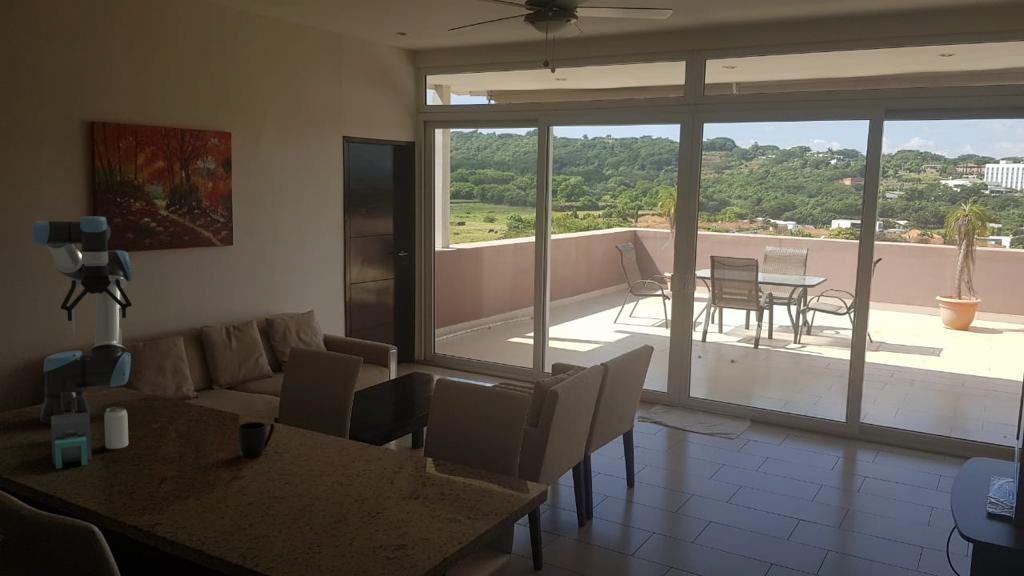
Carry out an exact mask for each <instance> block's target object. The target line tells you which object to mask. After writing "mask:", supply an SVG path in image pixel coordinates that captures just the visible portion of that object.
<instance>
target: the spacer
mask: <svg viewBox="0 0 1024 576" xmlns="http://www.w3.org/2000/svg"><path fill="white" fill-rule="evenodd" d="M73 446H81V461H80V462H81V466H88V460H87V440H86V436H83V437H74V438H66V439H57V440H55V459H56V464H55V469H56V470H57V469H59V470H60V469H62V468H63V463H62V454H61V448H65V447H73Z"/></svg>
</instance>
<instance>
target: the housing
mask: <svg viewBox="0 0 1024 576" xmlns="http://www.w3.org/2000/svg"><path fill="white" fill-rule="evenodd" d="M90 417H91V415H90V416H89V412H84V413H74V414H65V415H55V416H51V424H50V428H51V431H50V432H51V433H50V434H51V448H52V449H51V451H52V454H51V455H52V465H56V459H55V440H57V439H66V437H65V435H64V434H63V432H65V431H70V430H77V431H78V432H79V433H77V437H83V436H86V440H87V461H90V460H93V459H92V434H91V433H92V430H91V418H90ZM61 454H62V464H67V463H73V462H74V463H75V462H81V446H73V447H65V448H61Z"/></svg>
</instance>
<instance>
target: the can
mask: <svg viewBox="0 0 1024 576" xmlns="http://www.w3.org/2000/svg"><path fill="white" fill-rule="evenodd" d="M126 409H127V408H126V407H124V406H115V407H114V406H113V407H109V408H106V409H105V413H104V439H105V441H104V443H105V444H104V445H105V446H104V447H105V448H106V449H107V450H120V449H124V448H127V446H128V445H129V425H128V423H129V421H128V418H129V417H128V412H127V410H126Z"/></svg>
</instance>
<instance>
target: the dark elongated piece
mask: <svg viewBox="0 0 1024 576" xmlns="http://www.w3.org/2000/svg"><path fill="white" fill-rule="evenodd" d="M76 410H77V395H76V391H73V390H71V391H63V392H61V411H62V412H64V415H65V414H74V413H75V411H76ZM64 433H65V434H64V436H65V437H66V438H74V437H77V434H78V430H70V431H64Z"/></svg>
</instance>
